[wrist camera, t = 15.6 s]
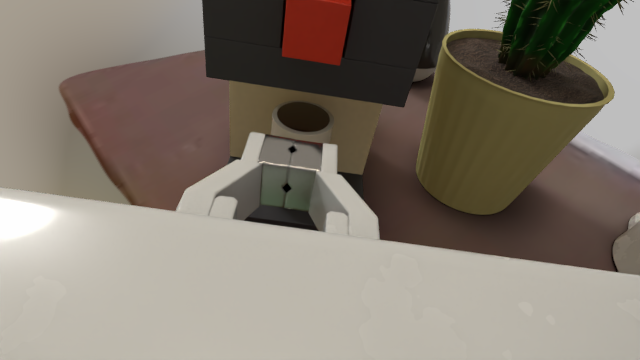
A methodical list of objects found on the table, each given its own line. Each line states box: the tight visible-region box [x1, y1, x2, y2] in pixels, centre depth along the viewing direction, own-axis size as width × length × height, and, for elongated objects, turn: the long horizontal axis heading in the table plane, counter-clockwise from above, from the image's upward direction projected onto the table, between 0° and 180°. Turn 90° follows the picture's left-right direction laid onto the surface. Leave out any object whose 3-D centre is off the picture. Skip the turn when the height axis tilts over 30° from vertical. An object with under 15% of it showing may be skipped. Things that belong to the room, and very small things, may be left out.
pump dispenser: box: [413, 0, 450, 82], centre depth 60 cm, size 10×10×15 cm
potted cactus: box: [416, 0, 627, 215], centre depth 36 cm, size 15×15×30 cm
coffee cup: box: [271, 100, 334, 209], centre depth 35 cm, size 5×5×9 cm
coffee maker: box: [202, 0, 440, 231], centre depth 33 cm, size 16×14×25 cm
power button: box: [282, 0, 351, 65], centre depth 24 cm, size 3×4×4 cm
